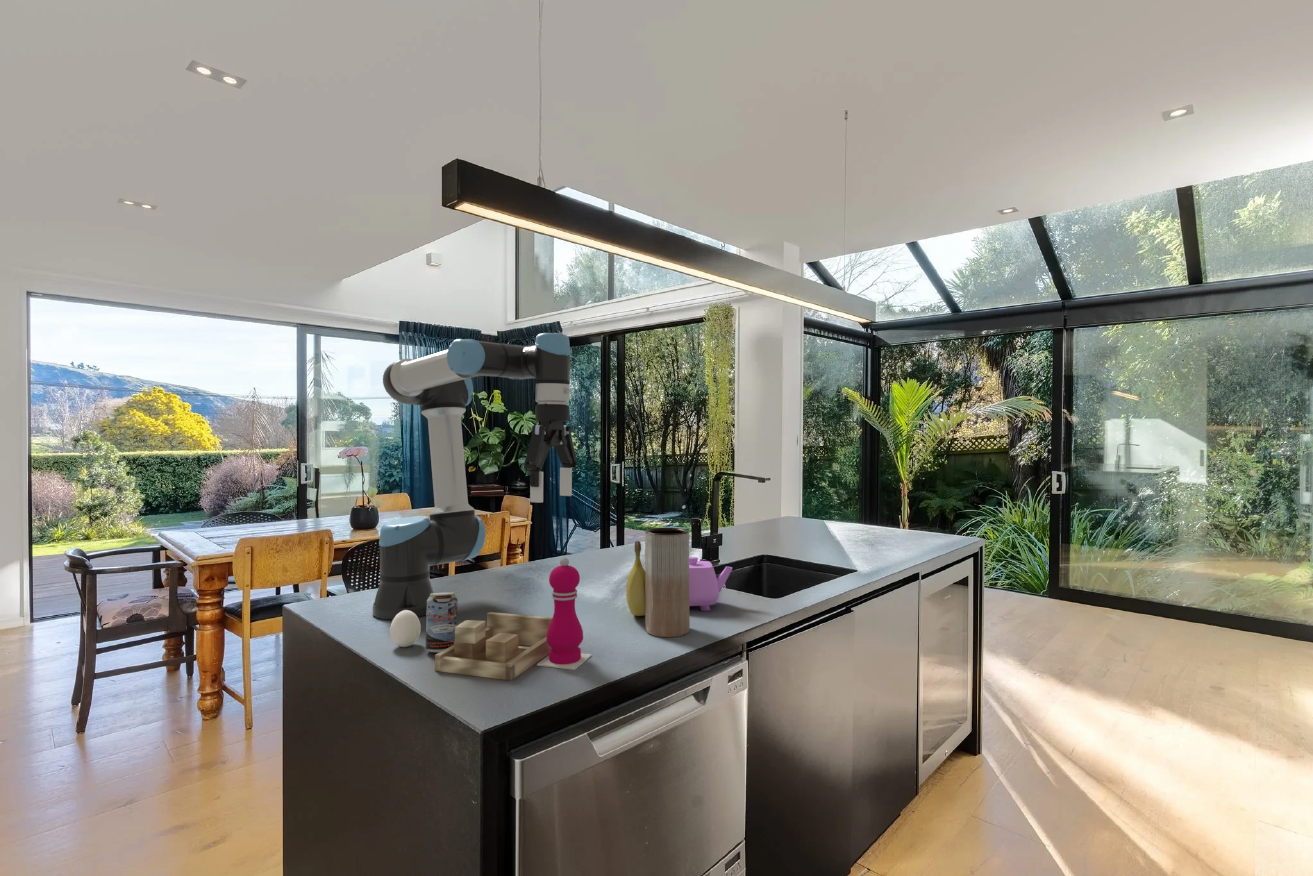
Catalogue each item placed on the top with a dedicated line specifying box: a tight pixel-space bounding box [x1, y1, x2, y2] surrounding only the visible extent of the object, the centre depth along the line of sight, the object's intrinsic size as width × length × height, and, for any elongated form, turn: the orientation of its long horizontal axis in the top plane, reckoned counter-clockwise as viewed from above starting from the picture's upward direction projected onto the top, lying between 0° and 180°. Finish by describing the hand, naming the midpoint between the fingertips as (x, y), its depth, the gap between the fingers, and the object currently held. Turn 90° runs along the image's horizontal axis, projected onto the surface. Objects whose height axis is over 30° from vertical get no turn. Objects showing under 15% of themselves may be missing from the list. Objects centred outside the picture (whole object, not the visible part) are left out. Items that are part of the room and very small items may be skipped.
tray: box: [434, 611, 553, 681], centre depth 126 cm, size 16×19×6 cm
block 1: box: [455, 619, 486, 644], centre depth 123 cm, size 4×5×3 cm
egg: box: [389, 610, 422, 648], centre depth 134 cm, size 6×6×8 cm
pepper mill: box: [546, 557, 584, 664], centre depth 125 cm, size 7×7×20 cm
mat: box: [536, 652, 592, 671], centre depth 125 cm, size 8×8×1 cm
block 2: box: [454, 636, 487, 661], centre depth 123 cm, size 4×5×5 cm
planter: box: [644, 527, 691, 638], centre depth 143 cm, size 10×10×23 cm
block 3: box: [486, 633, 519, 663], centre depth 121 cm, size 4×5×6 cm
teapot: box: [689, 556, 733, 612], centre depth 164 cm, size 20×12×13 cm, turn 90°
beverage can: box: [424, 591, 458, 653], centre depth 131 cm, size 6×7×12 cm
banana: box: [625, 540, 645, 617], centre depth 156 cm, size 23×6×20 cm, turn 178°
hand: (551, 498), depth 142 cm, fingers open, 13 cm apart
